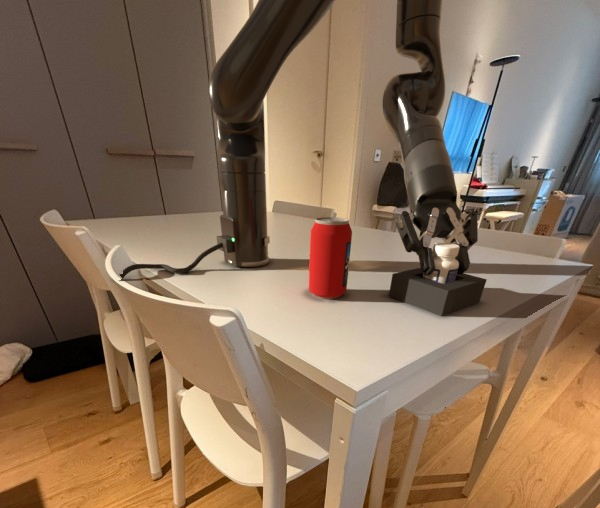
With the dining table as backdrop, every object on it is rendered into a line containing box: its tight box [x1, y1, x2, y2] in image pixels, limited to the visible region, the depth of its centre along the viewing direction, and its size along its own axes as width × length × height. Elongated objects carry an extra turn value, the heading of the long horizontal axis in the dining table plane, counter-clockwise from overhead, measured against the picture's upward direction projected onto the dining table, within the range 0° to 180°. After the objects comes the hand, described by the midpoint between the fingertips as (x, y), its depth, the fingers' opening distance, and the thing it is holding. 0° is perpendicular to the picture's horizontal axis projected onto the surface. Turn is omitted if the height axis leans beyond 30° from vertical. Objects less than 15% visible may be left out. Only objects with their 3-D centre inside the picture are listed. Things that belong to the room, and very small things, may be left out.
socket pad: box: [388, 267, 488, 317], centre depth 58 cm, size 11×11×4 cm
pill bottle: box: [423, 242, 460, 284], centre depth 57 cm, size 5×5×9 cm
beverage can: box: [308, 216, 353, 300], centre depth 57 cm, size 7×7×12 cm
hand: (446, 271), depth 55 cm, fingers closed on pill bottle, 5 cm apart
